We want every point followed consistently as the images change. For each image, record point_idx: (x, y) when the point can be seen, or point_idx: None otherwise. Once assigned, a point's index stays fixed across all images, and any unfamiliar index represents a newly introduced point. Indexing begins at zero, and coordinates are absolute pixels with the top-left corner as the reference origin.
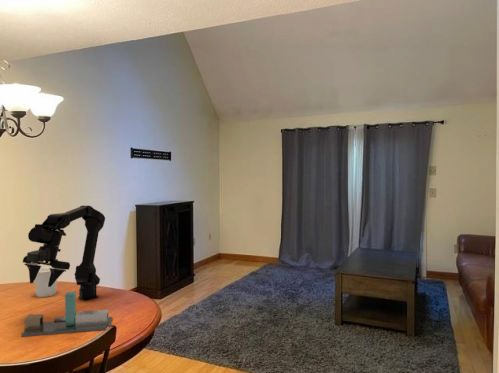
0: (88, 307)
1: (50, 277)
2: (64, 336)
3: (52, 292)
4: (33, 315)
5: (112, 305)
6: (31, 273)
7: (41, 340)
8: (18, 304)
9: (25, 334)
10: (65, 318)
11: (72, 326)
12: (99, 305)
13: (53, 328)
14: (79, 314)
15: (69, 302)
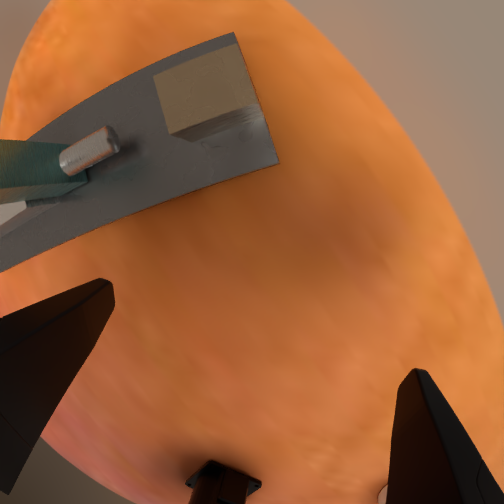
0: (147, 397)
1: (10, 332)
2: (65, 88)
3: (384, 496)
4: (216, 100)
5: (80, 403)
6: (453, 475)
7: (127, 33)
8: (477, 400)
9: (216, 39)
10: (56, 143)
11: None
12: (121, 411)
13: (118, 113)
14: None
15: None
